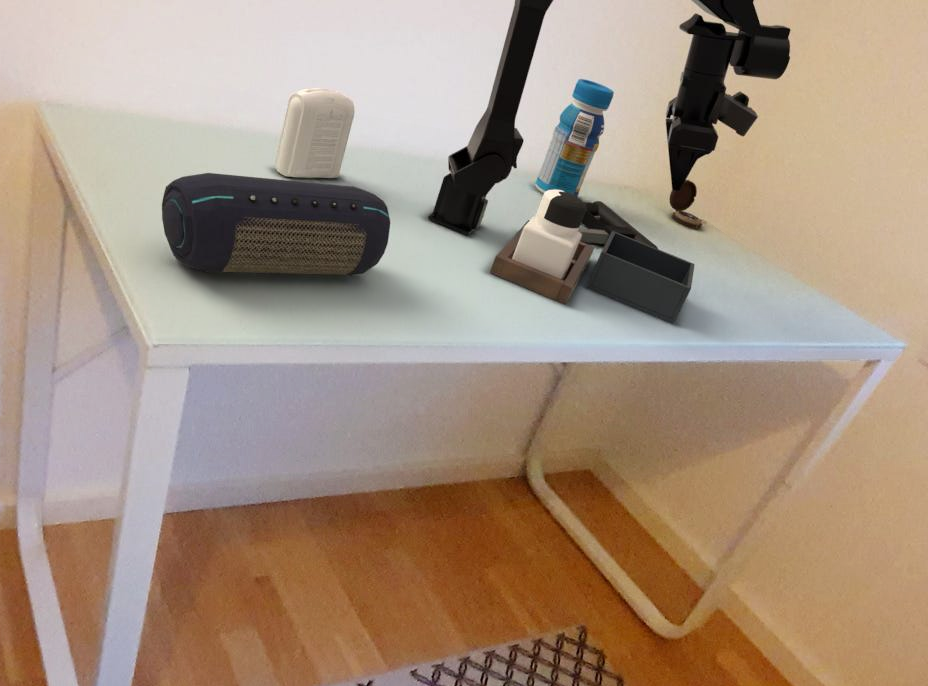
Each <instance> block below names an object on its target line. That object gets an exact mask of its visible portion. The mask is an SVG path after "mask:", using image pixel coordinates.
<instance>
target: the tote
mask: <svg viewBox="0 0 928 686" xmlns="http://www.w3.org/2000/svg"><path fill="white" fill-rule="evenodd" d="M694 271H695V263H693V262H691V261H689V260H685V259H683V258H681V257H678V256H676V255H673V254H671V253H669V252H667V251H663V250H661V249H659V248H658V249H656V248H654V247H651V246H649V245H646V244H644V243H641V242H639V241H637V240H634V239H632V238H629V237H627V236H624V235H622V234H619V233H617V232H614V231H612V232H611V234H610V236H609V238H608V240H607V242H606V244H605V246H603V248H602V250H601V252H600V254H599V256H598V259H597V261H596V264H595V266H594V268H593V271H592V272H591V275H590V277H589V280H588V282H587V284H586V287H585V288H586V289H588V290H591V291H593V292H595V293H597V294H599V295H603V296H605V297H608V298H610V299H612V300H615V301H617V302H620V303H622V304H625V305H627V306H629V307H632V308H634V309H637V310H639V311H641V312H644V313H646V314H649V315H651V316H653V317H656V318H657V319H661V320H663V321H666V322H667V323H670V324H672V325H674V324H675V323H676V320H677V318H678V316H679V314H680V312H681V310H682V308H683V306H684V304H685V302H686V300H687V298H688V296H689V294H690V292H691V290H692V285H693V278H694Z"/></svg>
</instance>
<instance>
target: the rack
mask: <svg viewBox="0 0 928 686" xmlns="http://www.w3.org/2000/svg"><path fill="white" fill-rule="evenodd" d="M530 220H531V219H530ZM530 220H529V219H527V221H526V222H525V223H524V224H523V225H522V227H520V228H519V230H518V231H517V232H516V233H515V234H514V235H513V236H512V238H511V239H509V241H508V242H507V243H506V244H505V245H504V247H503V248H502V249H500V251H498V253H497V254H496V255H495V256H494V260H493V263H492V266H491V268H490V271H489V273H490V274H492V275H494V276H496V277H499V278H501V279H504V280H506V281H509V282H511V283H513V284H516V285H518V286H520V287H523V288H525V289H528V290H530V291H533V292H535V293H537V294H540V295H542V296H544V297H546V298H549V299H551V300H554V301H557V302H559V303H561V304H564V305H566V304H567V303H568V301H569V299H570V297H571V295H572V294H573V292H574V290H575V288H576V286H577V285H578V283H579V281H580V279H581V277H582V275H583V274H584V272H585V270H586V268H587V266H588V264H589V262H590V260H591V258H592V255H593V253H594V251H595V248H596V247H595V246H594V245H591V244H589V243H587V242H581V241H580V242H579V244H578V247H577V249H576V251H575V254H574V256H573V259H572V261H571V264H570V266H569V268H568V271H567V273H566V276H565V278H564V280H561V279H559V278H556V277H554V276H552V275H549V274H547V273H544V272H542V271H539V270H537V269H535V268H532V267H530V266H527V265H525V264H523V263H520V262H518V261H515V260H513V259H512V258H513V255H514V252H515V250H516V247H517V244H518V242H519V239H520V236H521V233H522V231H523V228H524V226H525V225H526V224H527V223H528V222H529V221H530Z"/></svg>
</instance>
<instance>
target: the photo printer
mask: <svg viewBox="0 0 928 686" xmlns="http://www.w3.org/2000/svg"><path fill="white" fill-rule="evenodd" d="M285 111H286V112H285V115H284V120H283V125H282V130H281V134H280V138H279V144H278V149H277V154H276V157H275V163H274V164H275V165H274V166H275V168H276V171H277V172H278V173H279V174H280V175H282V176H284V177H292V178H316V179H317V178H322V179H323V178H324V179H335V178H338V177H339V175H340V172H341V169H342V165H343V161H344V156H345V153H346V148H347V145H348V141H349V136H350V133H351V130H352V125H353V121H354V117H355V104H354V101H353V100H352V99H351V98H349V96H347V95H345V94H343V93H341V92H339V91H336V90H334V89H330V88H325V87H311V88H306V89H300V90H297V91H295V92H293V93H292V94H291V95H290V97H289V99H288V102H287V107H286V110H285Z"/></svg>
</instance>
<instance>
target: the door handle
mask: <svg viewBox="0 0 928 686" xmlns="http://www.w3.org/2000/svg"><path fill="white" fill-rule="evenodd" d="M583 202H584V203H585V204H586V207H587V210H586V212H585V215H584V217H583V220H582V222H581V225H583V226H584V227H585V228H584V227H579V230H578V232H580V233H581V234H582V237H581V239H580V241H581V242H583V243H590V244H592V243H593V244H600V245H602V246H603V247H604V246H605V244H606V242H607V240H608V238H609V236H610V234H611V232H612V231H614V232H617V233H619V234H622V235H624V236H627V237H629V238H632V239H634V240H637V241H639V242H641V243H644V244H646V245H649V246H651V247H654V248H656V249H659V247H658V246H657V245H656V244H654V242H652V241H651V239H650V240H649V238H648V237H646V236H645V235H644V234H642V233H641V232H640V231H639V230H637V228H635V227H634V226H633V225H631V224H630V223H629V222H628V221H626V220H625V219H624V218H623V217H621V216H620V215H619V214H617V212H615V211H614V210H613V209H612V208H610V206H608V205H606V203H604V202H603V201H601V200H596V201H593V202H589V201H583Z"/></svg>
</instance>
